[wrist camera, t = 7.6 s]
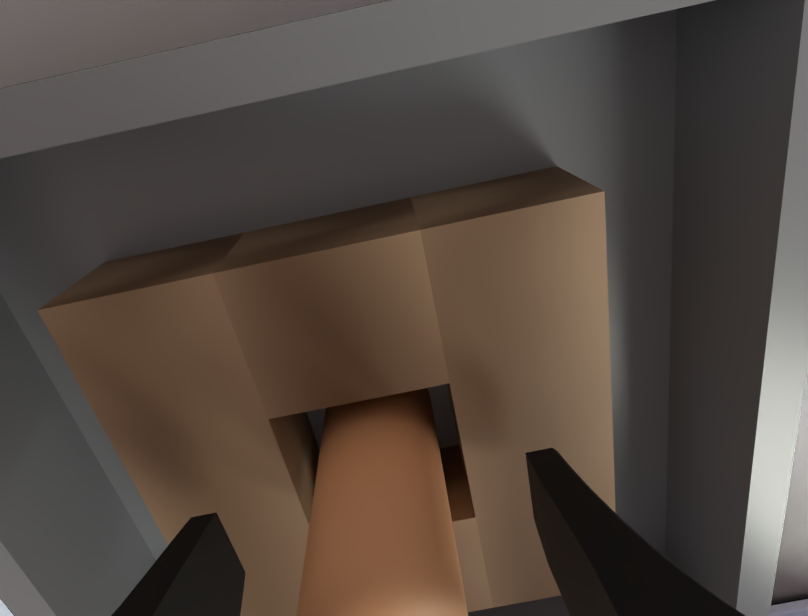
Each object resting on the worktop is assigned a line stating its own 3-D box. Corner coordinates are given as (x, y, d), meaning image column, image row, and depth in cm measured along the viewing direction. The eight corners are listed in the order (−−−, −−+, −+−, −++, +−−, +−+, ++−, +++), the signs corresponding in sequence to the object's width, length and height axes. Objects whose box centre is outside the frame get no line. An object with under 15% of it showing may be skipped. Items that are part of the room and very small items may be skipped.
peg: (425, 353, 15) (461, 554, 9) (436, 439, 17) (474, 667, 10) (317, 368, 15) (276, 580, 9) (337, 452, 17) (314, 689, 10)
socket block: (556, 166, 13) (604, 191, 10) (581, 507, 18) (618, 584, 15) (104, 261, 14) (37, 310, 11) (251, 570, 19) (230, 655, 16)
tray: (708, -50, 12) (882, -112, 8) (682, 551, 20) (760, 672, 16) (-114, 135, 13) (-348, 166, 9) (190, 641, 21) (145, 779, 17)
